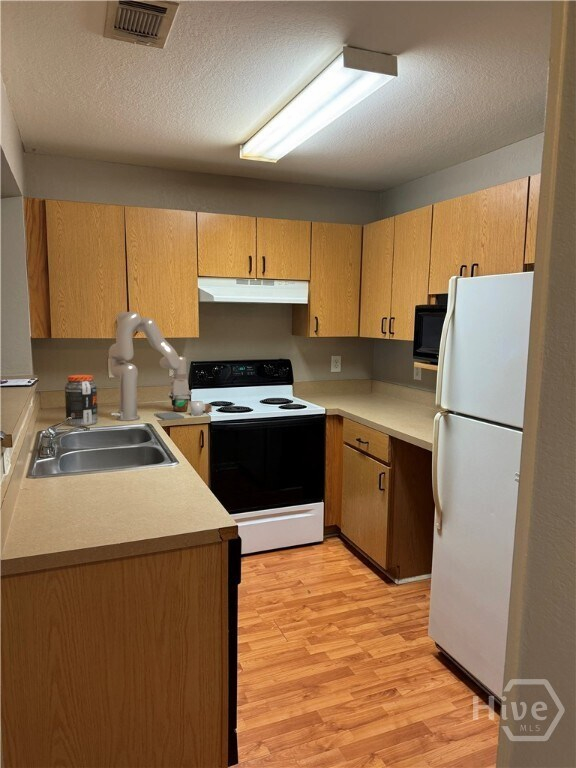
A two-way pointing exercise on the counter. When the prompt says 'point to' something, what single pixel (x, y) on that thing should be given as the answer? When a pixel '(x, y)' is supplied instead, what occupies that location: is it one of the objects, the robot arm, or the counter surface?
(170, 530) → the counter surface
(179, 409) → the food container
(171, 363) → the robot arm
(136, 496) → the counter surface
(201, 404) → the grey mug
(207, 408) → the walnut block
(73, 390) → the supplement tub
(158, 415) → the slate mat
